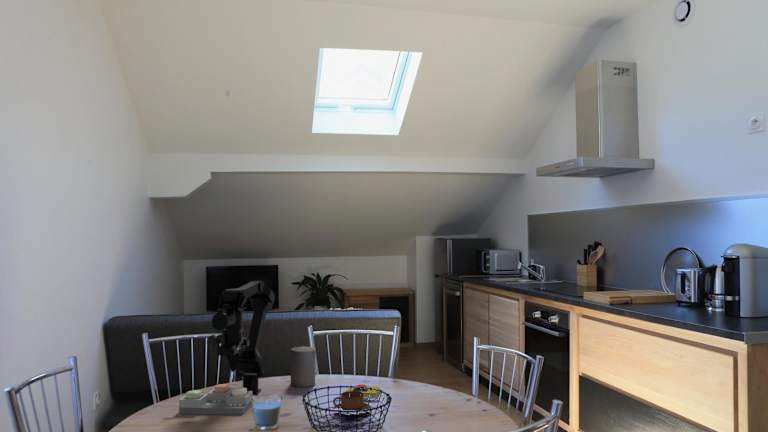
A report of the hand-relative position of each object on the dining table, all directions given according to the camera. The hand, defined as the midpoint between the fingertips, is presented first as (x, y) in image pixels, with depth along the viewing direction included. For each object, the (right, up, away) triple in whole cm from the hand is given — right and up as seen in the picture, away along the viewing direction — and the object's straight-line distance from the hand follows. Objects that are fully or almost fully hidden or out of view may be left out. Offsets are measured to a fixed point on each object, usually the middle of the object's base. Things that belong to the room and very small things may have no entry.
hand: (233, 371), depth 190 cm
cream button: (+3, -7, -4) cm, 9 cm away
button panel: (-4, -11, -4) cm, 12 cm away
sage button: (-11, -7, -8) cm, 15 cm away
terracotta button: (-4, -8, 0) cm, 9 cm away
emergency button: (+45, -12, +8) cm, 47 cm away
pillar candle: (+20, -12, +25) cm, 35 cm away
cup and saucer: (+42, -11, -10) cm, 44 cm away
